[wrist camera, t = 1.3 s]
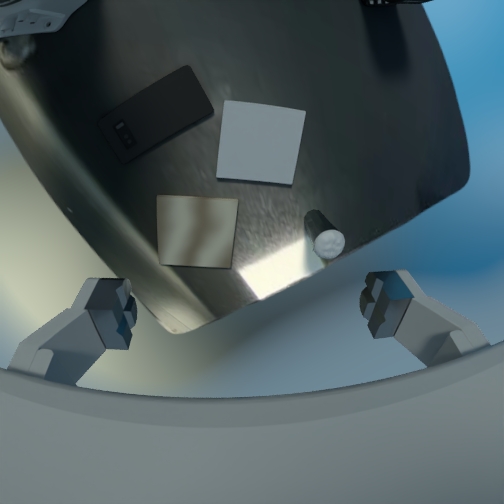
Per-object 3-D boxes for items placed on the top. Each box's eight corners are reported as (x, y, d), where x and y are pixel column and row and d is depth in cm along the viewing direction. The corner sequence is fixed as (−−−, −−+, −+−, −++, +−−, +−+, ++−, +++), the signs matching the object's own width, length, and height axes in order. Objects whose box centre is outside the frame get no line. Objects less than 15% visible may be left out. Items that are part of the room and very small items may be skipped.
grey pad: (216, 175, 40) (216, 177, 40) (224, 100, 34) (224, 100, 34) (290, 182, 42) (292, 184, 41) (304, 111, 36) (305, 111, 35)
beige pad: (159, 261, 47) (159, 264, 47) (157, 194, 41) (156, 196, 40) (230, 265, 49) (230, 267, 48) (237, 199, 43) (238, 201, 42)
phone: (214, 111, 34) (122, 165, 37) (215, 110, 36) (125, 163, 38) (188, 63, 30) (95, 122, 33) (189, 64, 31) (99, 121, 34)
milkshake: (299, 202, 44) (318, 234, 36) (330, 207, 45) (354, 240, 37) (291, 227, 46) (308, 264, 38) (321, 232, 47) (342, 267, 39)
